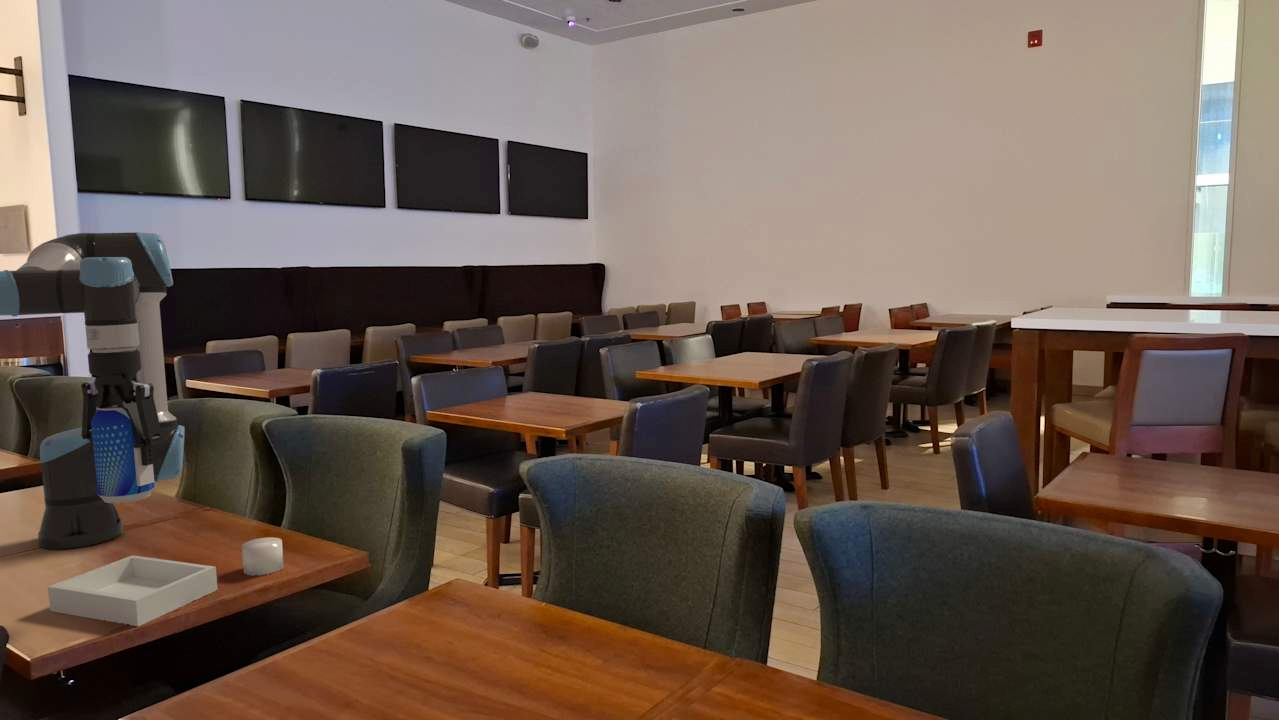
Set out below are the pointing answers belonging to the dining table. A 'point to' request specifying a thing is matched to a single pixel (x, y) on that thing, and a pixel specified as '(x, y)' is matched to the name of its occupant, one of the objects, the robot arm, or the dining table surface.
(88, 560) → the dining table surface
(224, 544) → the dining table surface
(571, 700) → the dining table surface
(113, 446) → the beer can
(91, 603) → the tray
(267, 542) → the white pillar candle
